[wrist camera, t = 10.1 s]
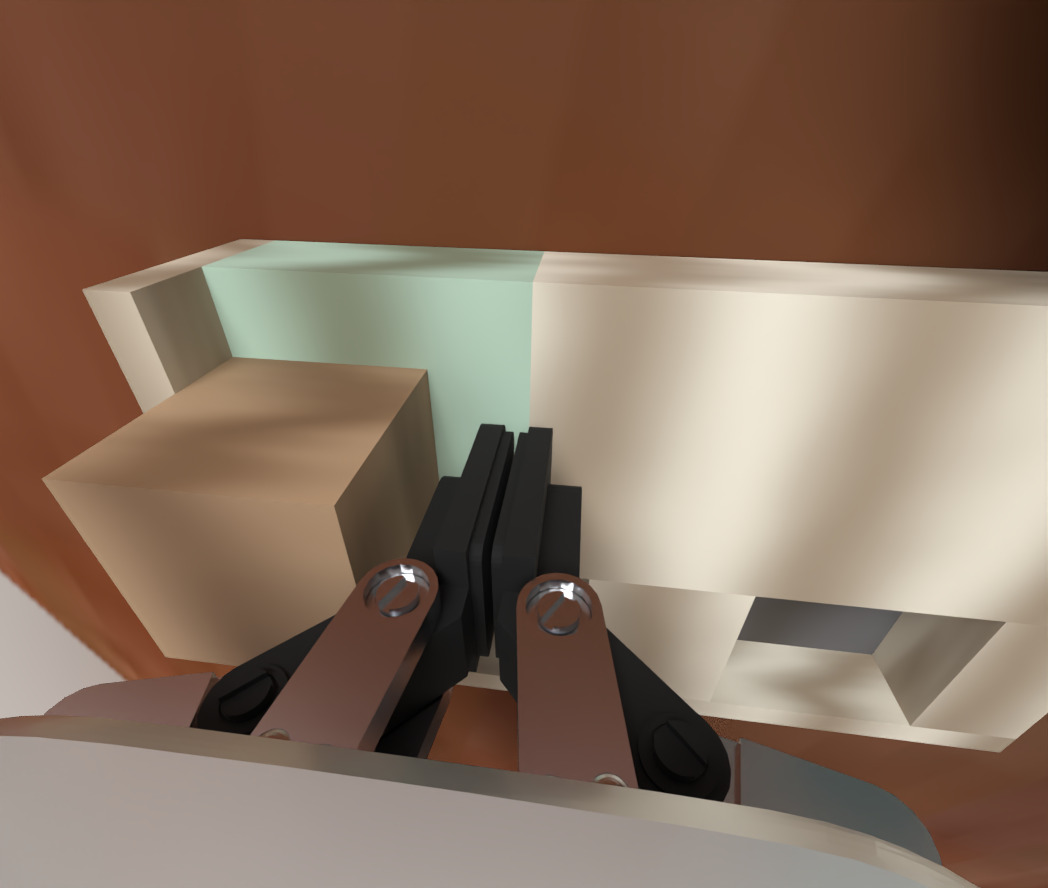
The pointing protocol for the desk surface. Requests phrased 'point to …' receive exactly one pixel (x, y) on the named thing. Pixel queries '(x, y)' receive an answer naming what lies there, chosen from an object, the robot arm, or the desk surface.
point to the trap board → (709, 450)
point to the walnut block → (255, 499)
